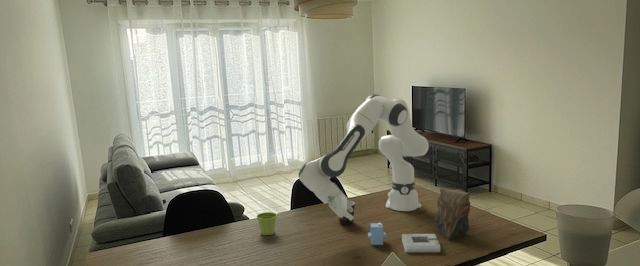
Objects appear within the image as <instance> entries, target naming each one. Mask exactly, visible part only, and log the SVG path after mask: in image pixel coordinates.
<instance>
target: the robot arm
mask: <svg viewBox="0 0 640 266" xmlns="http://www.w3.org/2000/svg"><path fill="white" fill-rule="evenodd" d="M379 121H380V122H383V123H386V124H388V130H389V132H390V134H388V135H387V134H386V135H382V136H381V137H380V138H379V141H378V149H379V152H380V153H381V154H382V155H384V156H385V157H386V158H387V160H388V162H389V163H390V166H391V171H392V181H391V190H390V191H389V192H387V197H388V198H387V200H386V203H385V208H386V209H391V210H394V211H397V212H410V211H415V210H417V209H421V208H422V204H421V203H420V202H419V193H418V191H417V190H416V182H415V168H414V166H413V165H412V163H410V162H408V161H406V160H405V159H404V157H421V156H425V155H426V154H427V152H428V151H429V149H430V147H429V145H430V144H429V141H428V140H427V138H426V137H425V136H423V135H421V134H420V133H418V132H417V131H416V130H415V129H414V128H413V125H412V120H411V114H410V110H409V107H408V103H407V102H406V101H405V100H404V99H403V98H398V97H397V98H394V99H391V98H388V97H385V96H380V94H376V93H375V94H374V93H372V94H370V95H368V96H367V97H365V99H364V100H363V102H362V103H361V104H360V105H359V106H358V107H357V109H355V111H353V113H352V115H351V116H350V117H349V119H348V121H347V122H346V125H345V127H346V134H345V136H344V137H343V138H342V140H341V141H340V143H339V144H338V145H337V147H336V148H335V149H334V150H333V151H331V152H329V153H326V154H324V155H322V156H321V157H319V158H317V159H315V160H312V161H308V162H305V163H304V164H303V165H302V166H301V168H300V170H299V172H298V179H299V180H300V181H301V183H302V184H303V185H304V186H305V187H306V188H307V189H308V190H309V191H311V192H313V193H314V195H315V196H316V198H318V199H319V200H320V201H321V202H322V203H323V204H324V205H325V204H328V206H329V208H330V209H331V211H332V212H333V213H334V214H336V215H337V216H338V218H339V217H341V218H342V217H343V216H344V217H346V218H348V219H349V220H350V221H352V220H353V221H354V216H352V215H350V214H349V213H348V212H347V209H348V211H349V212H350V213H352V212H353V208H352V207H351V206H350V205H349V203H348V202H347V201H348V197H347V195H345V194H344V193H343V191H342V190H341V189H340V188H339V187H338V185H337V184H336V183H335V182H333V181H331V179H332V178H337V177H340V176H341V175H342V174H343V173H344V172H345V170H346V167H347V163H348V159H349V157H350V156H351V155H352V153H354V152H353V151H354V150H355V149H356V148H357V146H358V145H359V143H361V141H362V140H364V139H365V138H366V137H367V136H368V135H369V134H370V133H371V132H372V130H373V129H374V128H375V127H376V125H377V123H378V122H379Z"/></svg>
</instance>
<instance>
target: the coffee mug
mask: <svg viewBox="0 0 640 266" xmlns="http://www.w3.org/2000/svg"><path fill="white" fill-rule="evenodd" d="M347 202H348V203H349V205H350V206H351V207H352V208H353V212H352V213H350V212H349V211H348V209H347V212H348V213H349V214H350V215H352V216H353V217H354V216H355V204H356V203H355V202H354V201H352V200H347ZM338 221H339V224H340V225H341V226H352V225H353V224H354V219H353V220H352V221H350V220H349V219H348V218H346V217H344V216H343V217H342V218H341V217H339V216H338Z"/></svg>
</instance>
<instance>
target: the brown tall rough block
mask: <svg viewBox="0 0 640 266" xmlns="http://www.w3.org/2000/svg"><path fill="white" fill-rule="evenodd" d="M439 191H440V194H439V196H438V197H437V200H436V202H437V204H436V206H437V209H438V210H437V213H436V215H435V218H434V222H435V226H436V231H437V232H436V233H438V234H439V235H440V236H442V237H443V238H444V240H445V239H446V240H447V241H449V242H450V241H451V240H456V239H460V238H462V237H463V238H464V237H466V236H467V232H468V231H469V229H470V225H469V214H470V211H471V201H470V195H471V194H470V192H469V191H468V192H466V191H464V190H462V189H460V188H459V189H448V188H440V189H439Z"/></svg>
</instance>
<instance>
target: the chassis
mask: <svg viewBox="0 0 640 266" xmlns="http://www.w3.org/2000/svg"><path fill="white" fill-rule="evenodd" d="M401 241H402V245H403V248H404V252H405V253H441V244H440V242H439V240H438V237H437V236H436V234H435V233H402V234H401Z"/></svg>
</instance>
